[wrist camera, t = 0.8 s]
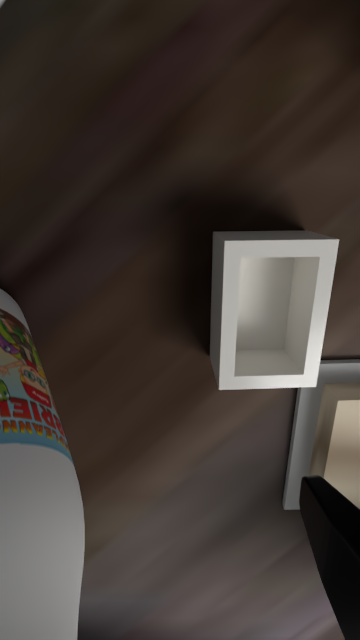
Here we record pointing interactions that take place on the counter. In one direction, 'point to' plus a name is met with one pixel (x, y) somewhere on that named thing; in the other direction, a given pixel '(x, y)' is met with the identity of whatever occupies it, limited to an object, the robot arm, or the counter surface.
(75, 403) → the counter surface
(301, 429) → the mat
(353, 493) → the board
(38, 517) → the milk bottle
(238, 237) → the dish
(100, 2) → the counter surface
